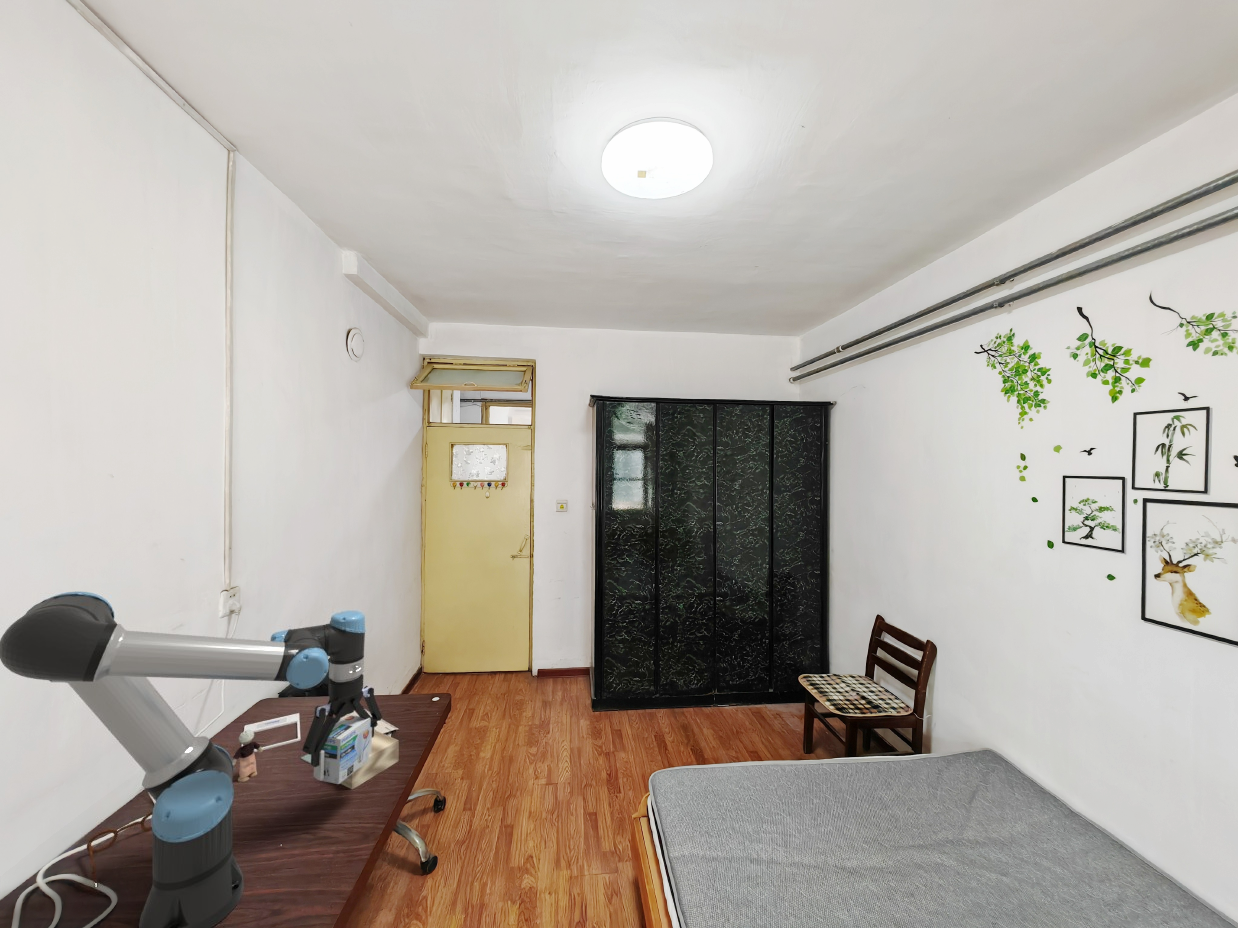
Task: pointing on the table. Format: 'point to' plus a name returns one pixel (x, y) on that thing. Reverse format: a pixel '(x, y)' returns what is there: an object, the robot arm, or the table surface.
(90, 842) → the glasses
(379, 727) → the newspaper
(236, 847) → the table surface
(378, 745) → the beech step
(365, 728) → the light bulb box
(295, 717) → the photo frame
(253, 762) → the grandmother figurine
